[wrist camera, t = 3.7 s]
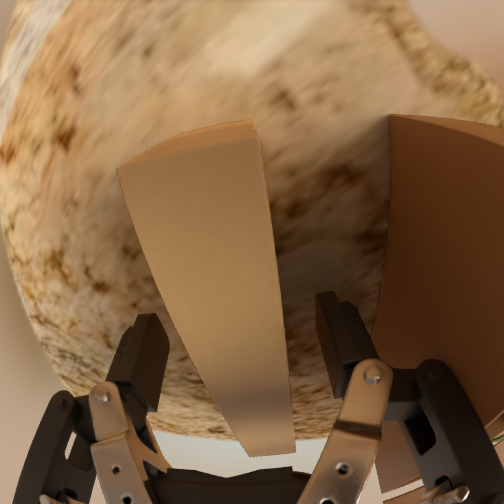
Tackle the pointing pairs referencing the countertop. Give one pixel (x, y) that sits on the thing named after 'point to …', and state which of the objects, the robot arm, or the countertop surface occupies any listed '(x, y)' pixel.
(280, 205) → the countertop surface
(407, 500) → the flap
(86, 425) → the robot arm
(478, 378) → the carton
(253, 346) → the tan wooden block
